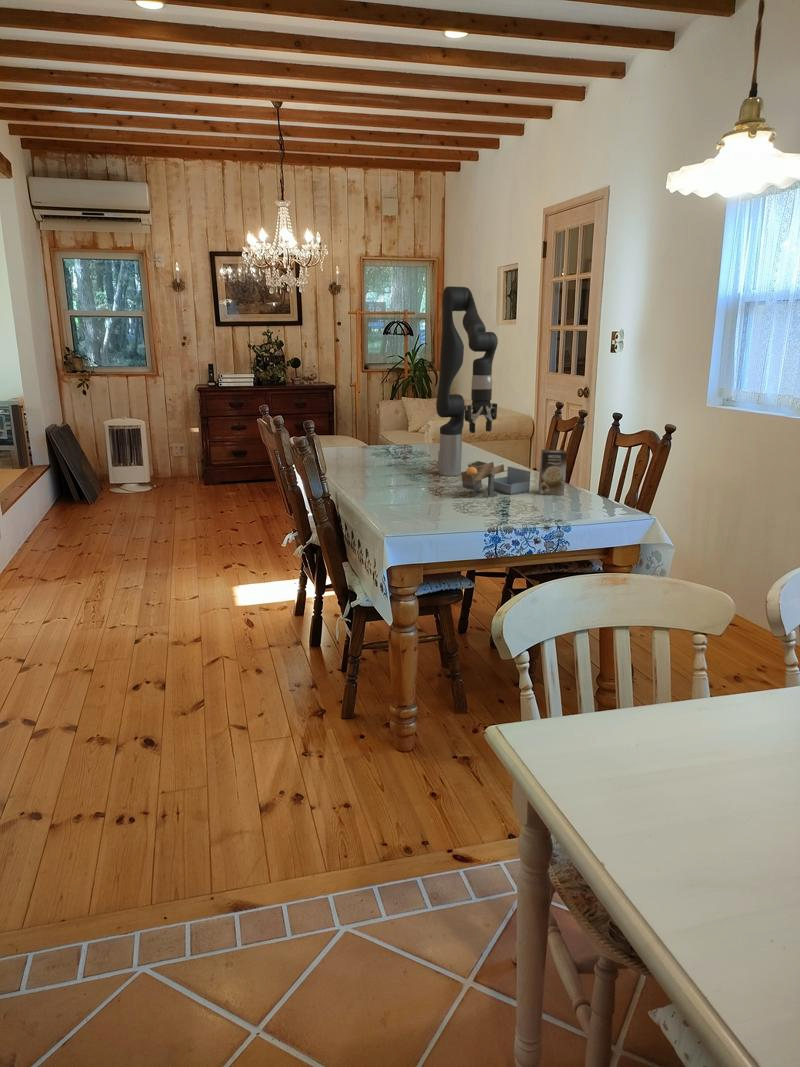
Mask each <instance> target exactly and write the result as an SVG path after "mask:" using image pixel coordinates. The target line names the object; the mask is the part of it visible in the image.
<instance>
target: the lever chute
mask: <svg viewBox="0 0 800 1067" xmlns="http://www.w3.org/2000/svg"><path fill="white" fill-rule="evenodd" d="M467 467H468V468H469V467H474V468H476V469H477V474H474V475H470V474H466V471H467V470H465V471H463V472H462V471H461V475H460V476H461V485H462V488H465V489H467V490H470V491H471V490H476V489H481V488H483V484H482V483H483V481H482V480H483V479H487V478H488V474H489V473H493V474H494V475H495V476H496V475H497V474H501V473H503V472H505V465H504V464H500V465H496V466H495V465H494V462H493V461H491V462H483V461H479V460H476V461H474V462H471V463H468V464H467Z"/></svg>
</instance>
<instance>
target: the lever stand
mask: <svg viewBox="0 0 800 1067" xmlns="http://www.w3.org/2000/svg"><path fill="white" fill-rule="evenodd" d="M495 476H496V474H495V475H494V474H493V473H489V474H488V477H487V478H488V480H487V481H488V482H487V493H486V494H483V498H485V497H487V498H486V499H489V498H488V497H490V498H496V497H498V493H494V490H493V487H494V478H495ZM479 492H482V493H484V489H481V488H479V489H476V490H471V489H470V490H469V494H472V493H475V494H480V493H479ZM495 496H496V497H495Z"/></svg>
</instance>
